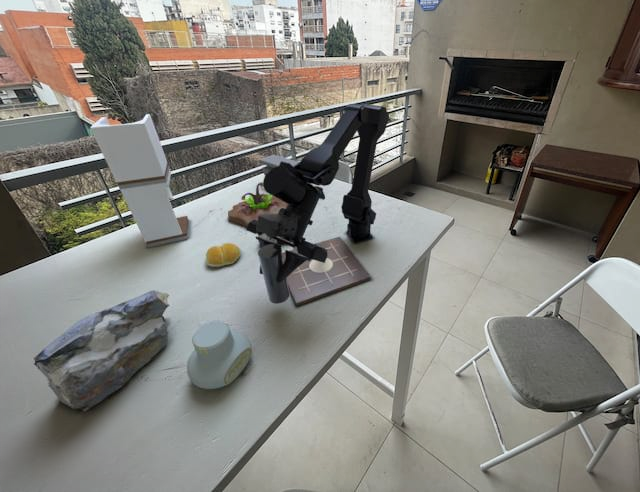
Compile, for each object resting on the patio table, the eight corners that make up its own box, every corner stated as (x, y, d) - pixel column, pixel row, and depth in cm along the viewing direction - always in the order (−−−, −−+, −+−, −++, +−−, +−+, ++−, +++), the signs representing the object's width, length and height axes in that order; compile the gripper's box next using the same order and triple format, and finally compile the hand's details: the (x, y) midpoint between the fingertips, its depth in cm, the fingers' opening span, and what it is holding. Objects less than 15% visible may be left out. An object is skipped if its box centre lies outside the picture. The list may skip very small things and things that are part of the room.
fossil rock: (167, 329, 65) (159, 275, 59) (194, 348, 62) (189, 293, 56) (44, 402, 48) (16, 336, 42) (74, 435, 44) (48, 368, 39)
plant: (301, 208, 105) (298, 181, 99) (261, 234, 91) (254, 204, 85) (263, 195, 114) (258, 169, 107) (221, 217, 99) (212, 188, 93)
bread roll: (243, 262, 80) (240, 250, 77) (208, 271, 76) (204, 260, 74) (239, 245, 86) (236, 235, 84) (206, 254, 82) (202, 243, 80)
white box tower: (188, 238, 88) (144, 123, 70) (148, 247, 84) (89, 127, 66) (188, 220, 97) (149, 114, 78) (152, 228, 93) (102, 117, 74)
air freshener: (219, 403, 49) (202, 371, 43) (184, 384, 51) (164, 351, 46) (261, 350, 57) (251, 317, 52) (229, 335, 60) (217, 303, 54)
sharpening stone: (263, 183, 123) (258, 159, 117) (276, 177, 128) (273, 154, 123) (306, 199, 111) (303, 173, 106) (319, 192, 117) (317, 167, 111)
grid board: (339, 239, 89) (339, 236, 89) (370, 279, 74) (370, 276, 74) (276, 257, 81) (275, 254, 81) (296, 306, 67) (296, 302, 66)
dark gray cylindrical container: (286, 285, 67) (278, 241, 60) (292, 299, 63) (284, 254, 56) (266, 292, 65) (255, 247, 58) (271, 306, 61) (260, 261, 54)
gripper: (243, 186, 58) (210, 256, 56) (314, 211, 50) (278, 294, 48) (277, 203, 68) (249, 264, 66) (341, 226, 60) (311, 296, 58)
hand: (269, 278), depth 59 cm, fingers closed on dark gray cylindrical container, 4 cm apart
